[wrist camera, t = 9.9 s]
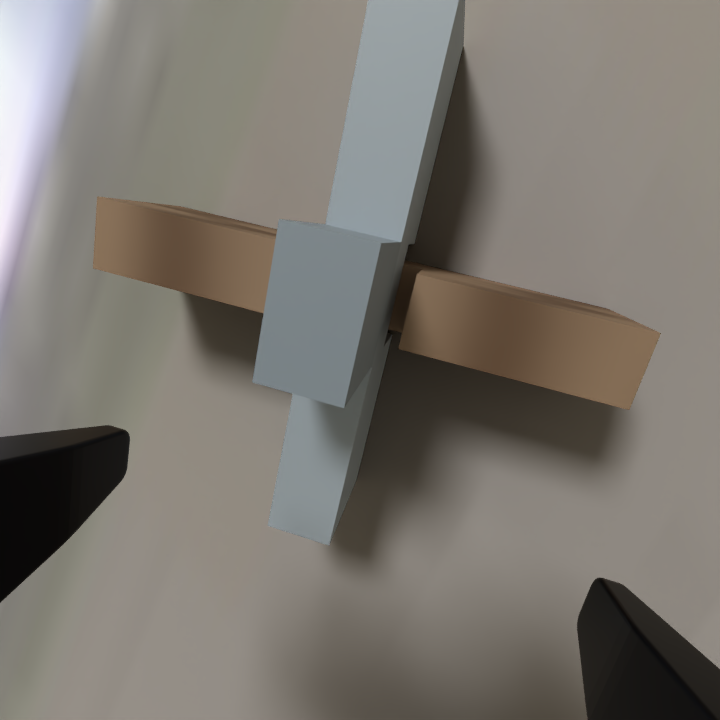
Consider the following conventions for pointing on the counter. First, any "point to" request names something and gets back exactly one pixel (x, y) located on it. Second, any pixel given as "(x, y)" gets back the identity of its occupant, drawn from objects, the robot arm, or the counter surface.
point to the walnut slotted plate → (411, 307)
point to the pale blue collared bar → (354, 259)
